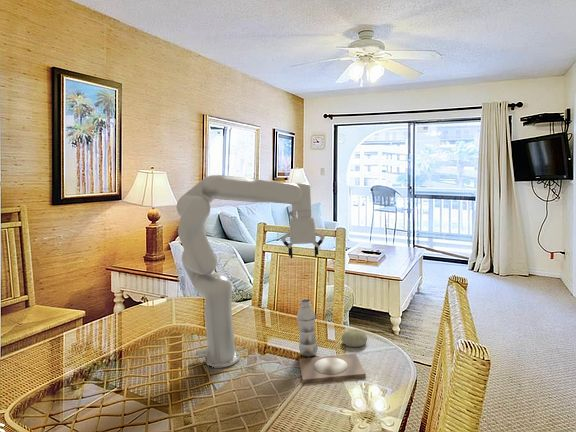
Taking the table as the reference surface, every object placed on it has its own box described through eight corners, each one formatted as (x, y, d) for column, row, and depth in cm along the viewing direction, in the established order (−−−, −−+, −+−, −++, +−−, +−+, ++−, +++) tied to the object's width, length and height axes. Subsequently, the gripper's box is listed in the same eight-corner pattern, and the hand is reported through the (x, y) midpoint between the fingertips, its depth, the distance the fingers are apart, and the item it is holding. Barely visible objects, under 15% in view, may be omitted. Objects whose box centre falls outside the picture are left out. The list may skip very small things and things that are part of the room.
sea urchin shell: (369, 344, 151) (352, 329, 152) (354, 358, 153) (338, 343, 154) (369, 333, 160) (353, 319, 161) (355, 347, 162) (340, 332, 163)
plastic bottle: (318, 358, 147) (315, 303, 144) (299, 359, 147) (295, 304, 145) (317, 350, 153) (314, 297, 151) (299, 351, 154) (295, 298, 151)
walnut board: (303, 383, 131) (302, 379, 131) (298, 362, 145) (298, 358, 145) (365, 377, 132) (365, 373, 132) (355, 356, 146) (355, 353, 146)
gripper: (279, 216, 161) (281, 260, 163) (324, 214, 160) (325, 258, 162) (280, 214, 168) (282, 255, 171) (323, 212, 167) (325, 254, 169)
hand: (303, 257), depth 166 cm, fingers open, 9 cm apart
